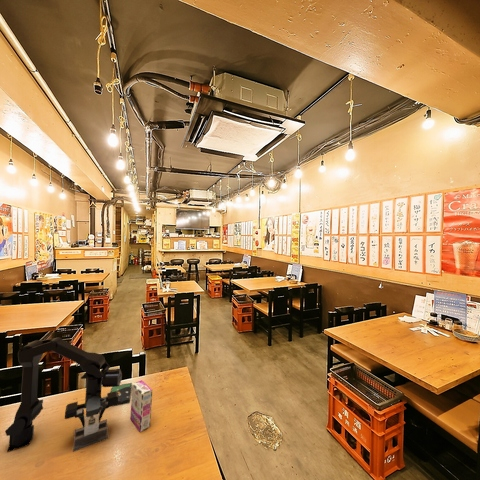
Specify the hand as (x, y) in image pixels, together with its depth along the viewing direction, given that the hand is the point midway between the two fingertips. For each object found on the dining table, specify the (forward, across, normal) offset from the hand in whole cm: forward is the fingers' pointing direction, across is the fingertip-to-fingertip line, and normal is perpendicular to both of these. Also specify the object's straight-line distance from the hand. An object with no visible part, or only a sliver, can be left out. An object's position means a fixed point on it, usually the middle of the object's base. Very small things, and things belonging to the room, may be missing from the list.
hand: (91, 424), depth 97 cm
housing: (+2, 0, 0) cm, 2 cm away
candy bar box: (+5, +19, -3) cm, 20 cm away
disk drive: (+5, +13, +22) cm, 26 cm away
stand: (+5, 0, 0) cm, 5 cm away
